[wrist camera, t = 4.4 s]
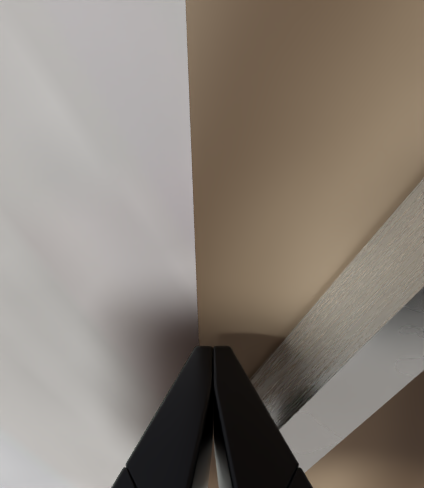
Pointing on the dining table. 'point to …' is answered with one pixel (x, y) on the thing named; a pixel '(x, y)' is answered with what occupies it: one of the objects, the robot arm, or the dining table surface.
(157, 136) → the dining table surface
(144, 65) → the dining table surface
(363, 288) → the bar
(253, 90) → the board
